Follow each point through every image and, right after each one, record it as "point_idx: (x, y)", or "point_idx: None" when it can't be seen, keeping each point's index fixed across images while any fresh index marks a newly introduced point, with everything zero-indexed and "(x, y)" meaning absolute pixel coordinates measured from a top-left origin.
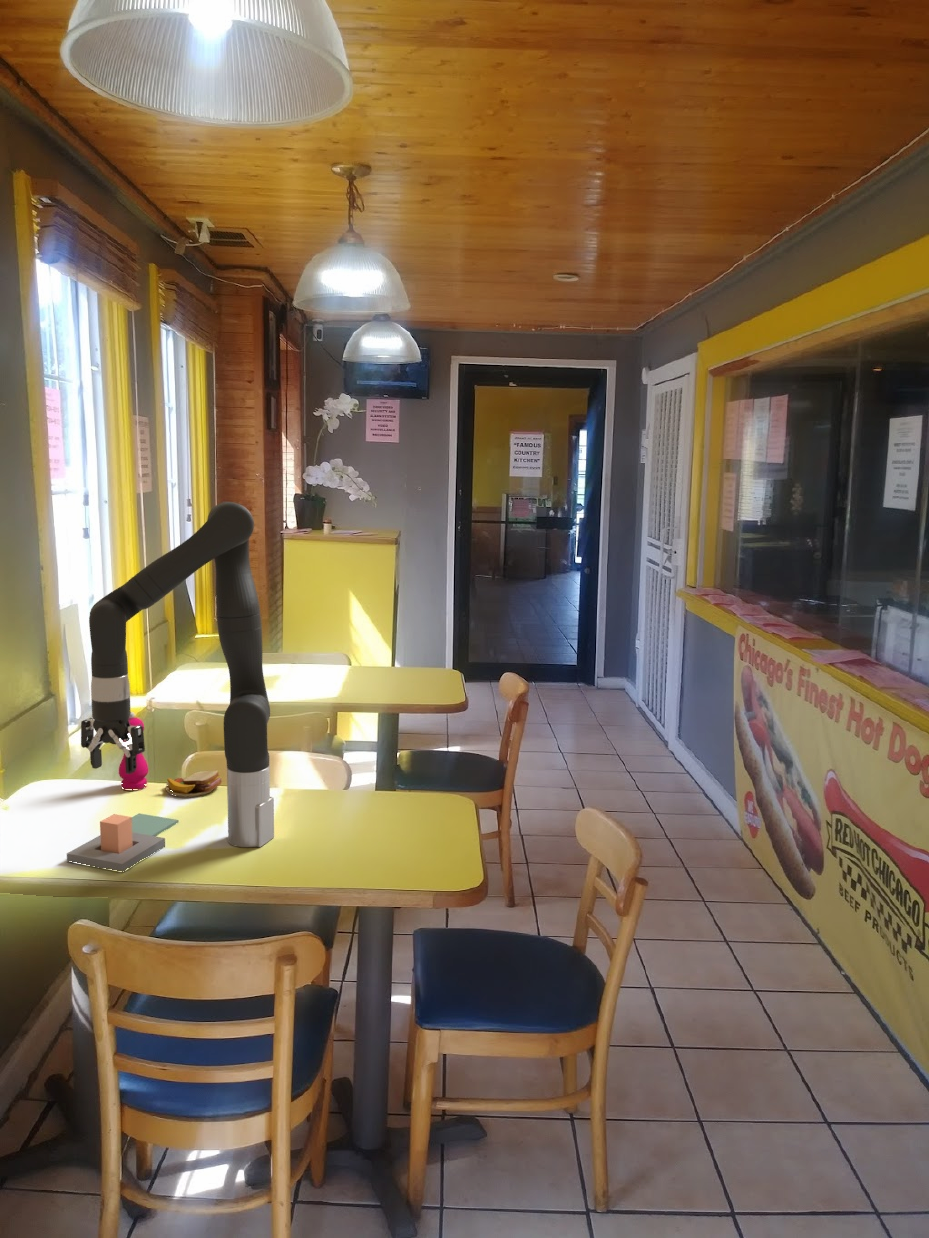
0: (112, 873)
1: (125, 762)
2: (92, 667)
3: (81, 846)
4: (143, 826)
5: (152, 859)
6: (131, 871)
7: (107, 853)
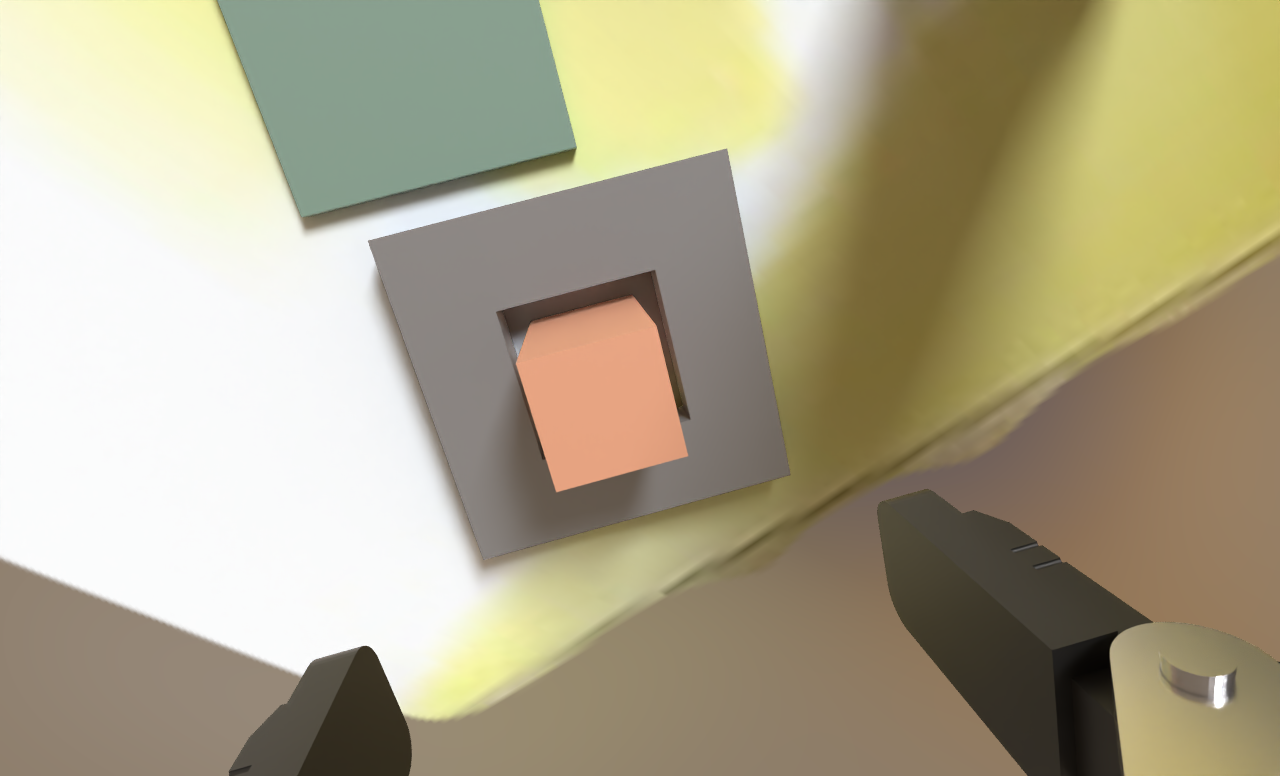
0: None
1: (997, 734)
2: None
3: (463, 477)
4: (408, 44)
5: (776, 294)
6: (793, 426)
7: None
